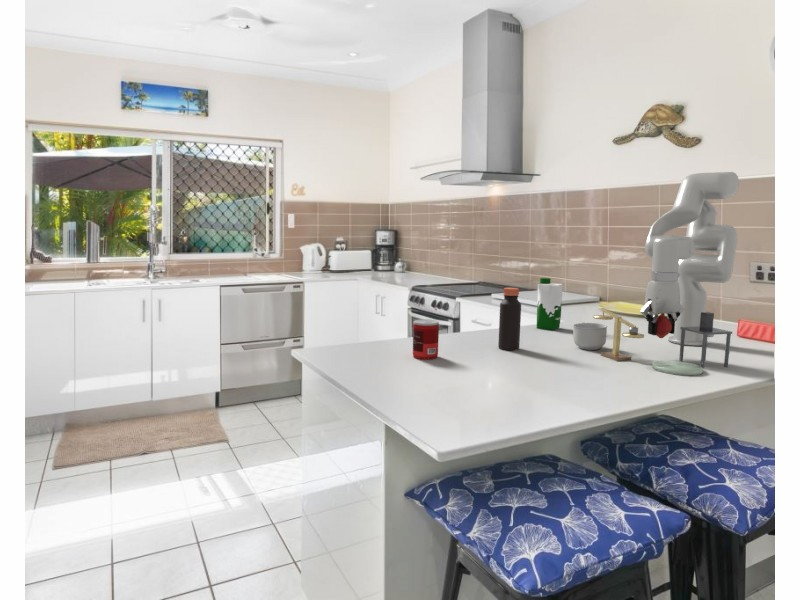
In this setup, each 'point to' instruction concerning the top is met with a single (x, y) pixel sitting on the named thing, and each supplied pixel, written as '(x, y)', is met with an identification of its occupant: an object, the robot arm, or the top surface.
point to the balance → (618, 335)
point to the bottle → (510, 320)
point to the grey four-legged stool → (705, 336)
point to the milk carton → (549, 304)
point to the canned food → (425, 339)
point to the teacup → (589, 335)
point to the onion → (663, 326)
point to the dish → (677, 367)
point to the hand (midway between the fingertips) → (661, 333)
